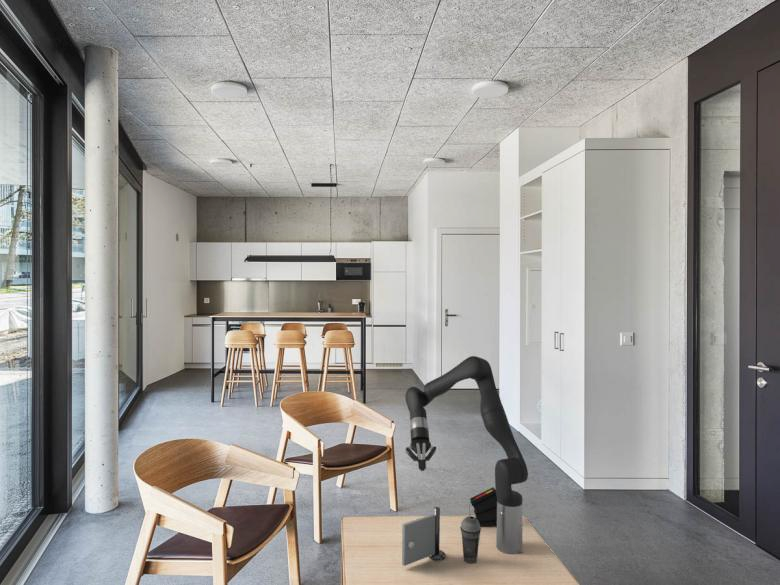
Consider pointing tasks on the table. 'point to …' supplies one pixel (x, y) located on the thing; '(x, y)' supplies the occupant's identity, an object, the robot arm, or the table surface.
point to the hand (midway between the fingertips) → (422, 470)
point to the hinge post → (437, 537)
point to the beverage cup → (470, 538)
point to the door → (418, 539)
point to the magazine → (486, 508)
